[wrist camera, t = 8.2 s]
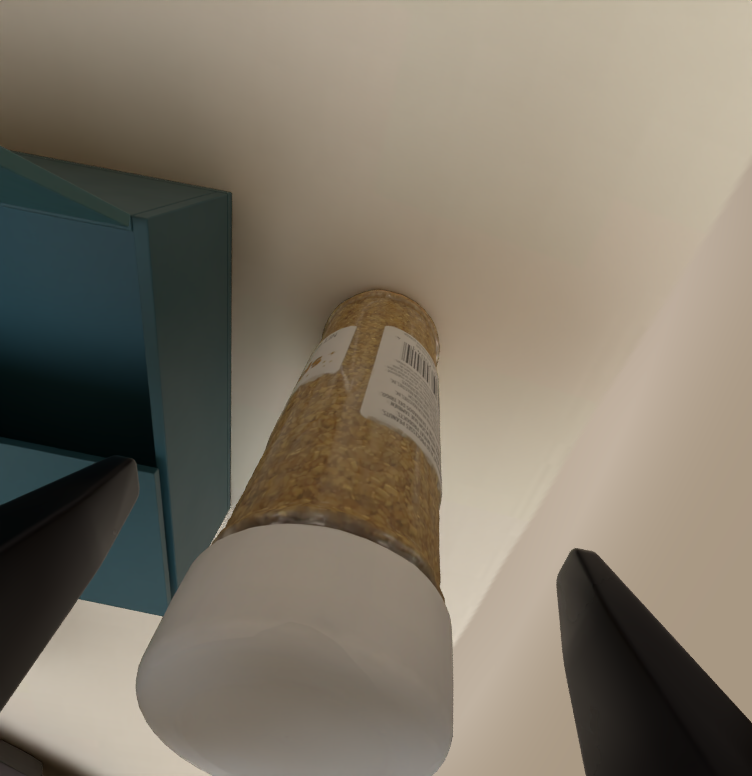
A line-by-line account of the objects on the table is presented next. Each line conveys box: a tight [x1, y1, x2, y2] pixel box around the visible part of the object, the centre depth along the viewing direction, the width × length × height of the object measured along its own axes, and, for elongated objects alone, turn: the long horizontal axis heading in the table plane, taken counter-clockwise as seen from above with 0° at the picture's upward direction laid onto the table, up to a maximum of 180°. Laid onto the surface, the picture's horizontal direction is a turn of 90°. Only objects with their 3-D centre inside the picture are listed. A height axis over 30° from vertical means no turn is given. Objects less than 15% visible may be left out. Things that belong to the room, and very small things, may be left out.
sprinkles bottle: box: [136, 290, 453, 776], centre depth 12 cm, size 5×5×13 cm
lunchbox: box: [0, 150, 232, 616], centre depth 17 cm, size 15×14×6 cm
